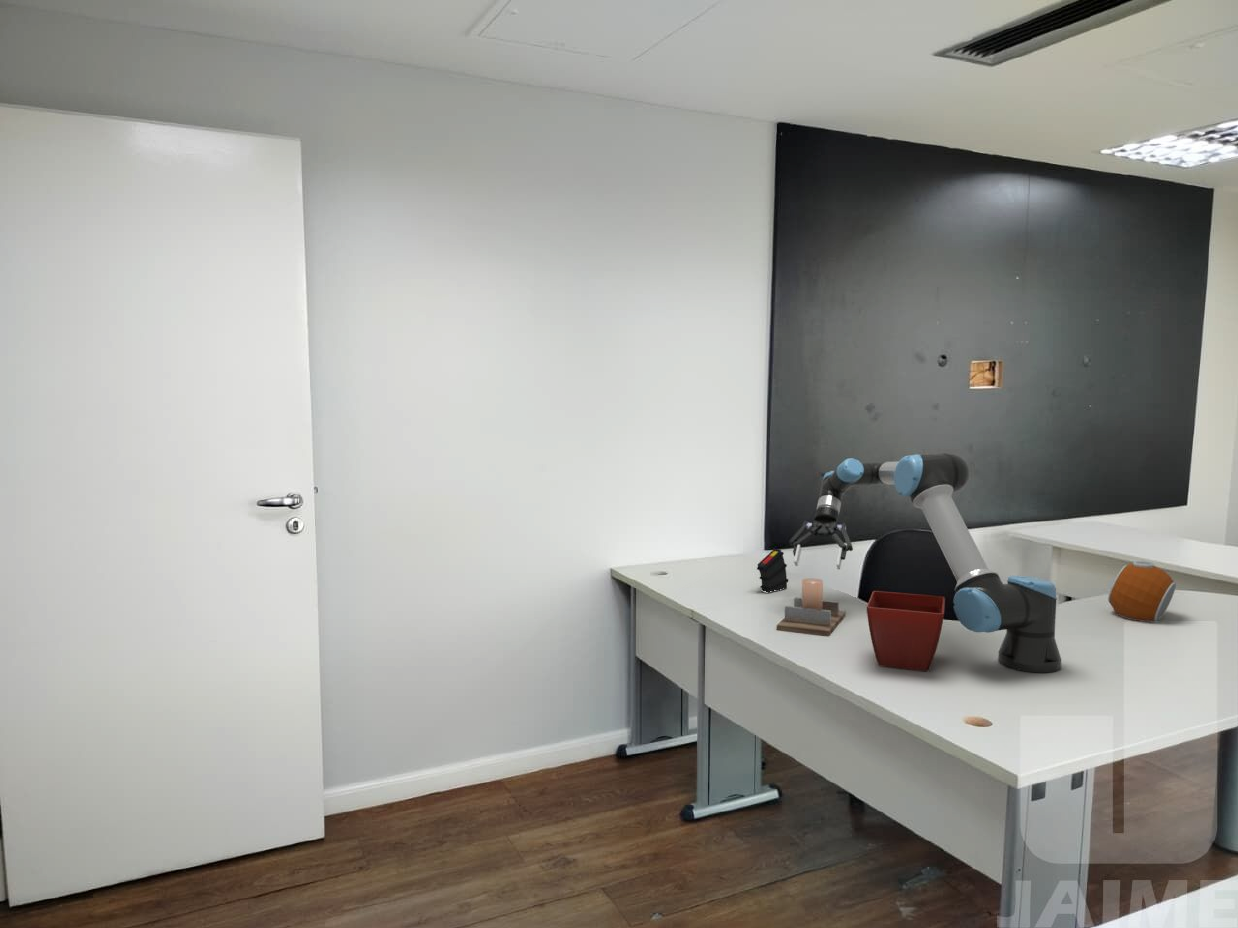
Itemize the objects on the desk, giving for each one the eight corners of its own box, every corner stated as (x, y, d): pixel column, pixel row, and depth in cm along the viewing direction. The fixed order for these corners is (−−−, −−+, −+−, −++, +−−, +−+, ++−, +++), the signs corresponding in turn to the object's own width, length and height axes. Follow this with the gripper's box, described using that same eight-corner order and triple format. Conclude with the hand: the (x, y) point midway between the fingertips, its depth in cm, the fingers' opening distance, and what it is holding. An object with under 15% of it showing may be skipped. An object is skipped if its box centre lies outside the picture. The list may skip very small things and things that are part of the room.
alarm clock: (1118, 605, 282) (1120, 554, 281) (1180, 615, 270) (1182, 561, 268) (1100, 617, 269) (1102, 563, 267) (1164, 627, 257) (1167, 571, 255)
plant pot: (944, 655, 234) (945, 595, 233) (942, 677, 217) (943, 613, 215) (872, 648, 242) (873, 590, 240) (865, 669, 224) (865, 606, 222)
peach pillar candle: (820, 621, 263) (820, 583, 262) (799, 619, 266) (799, 582, 265) (824, 616, 269) (824, 579, 268) (804, 614, 272) (804, 577, 270)
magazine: (793, 583, 313) (782, 549, 308) (772, 603, 306) (760, 569, 301) (785, 581, 316) (774, 547, 311) (764, 601, 309) (752, 568, 304)
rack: (828, 636, 253) (829, 616, 253) (776, 629, 260) (776, 610, 260) (845, 616, 275) (845, 597, 274) (796, 610, 282) (796, 593, 281)
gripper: (867, 521, 281) (857, 575, 269) (792, 516, 292) (780, 568, 280) (864, 507, 276) (854, 561, 264) (788, 503, 287) (776, 555, 275)
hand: (816, 565), depth 272 cm, fingers open, 13 cm apart
